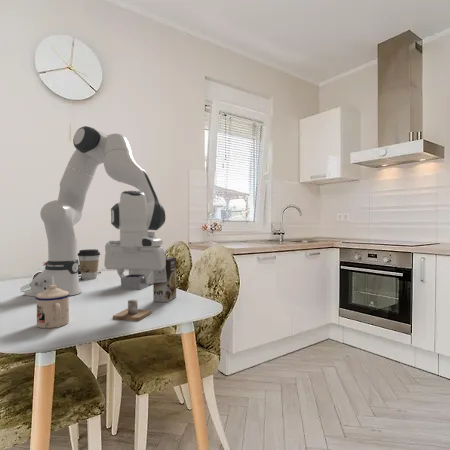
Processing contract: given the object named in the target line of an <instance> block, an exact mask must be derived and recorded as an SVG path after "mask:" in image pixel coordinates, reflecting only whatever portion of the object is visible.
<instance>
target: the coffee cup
mask: <svg viewBox="0 0 450 450" xmlns="http://www.w3.org/2000/svg"><path fill="white" fill-rule="evenodd" d="M100 256H101V252H100V251H99V249H96V248H95V249H88V248H87V249H80V250H79V252H77V257H78V263H79V269H80V277H81V279H82V280H85V281H86V280H87V281H88V280H96V279H97V276H98V269H99V261H100Z"/></svg>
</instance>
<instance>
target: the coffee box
mask: <svg viewBox="0 0 450 450" xmlns="http://www.w3.org/2000/svg"><path fill="white" fill-rule="evenodd" d="M165 259H166V266H165V267H164V269H161V270H153V284H152V285H153V286H152V287H153V290H152V291H153V295H152V296H153V300H152V301H153V302H160V303H169V302H171V301H172V300H174V299H175V298H176V297H177V257H174V256H173V257H172V256H171V257H170V256H169V257H167V256H165ZM173 298H174V299H173ZM170 300H171V301H170Z"/></svg>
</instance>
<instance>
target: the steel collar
mask: <svg viewBox="0 0 450 450" xmlns="http://www.w3.org/2000/svg"><path fill="white" fill-rule="evenodd" d="M146 276H147V274H129V273H128V274H126V275H125V276H123V277H121V278H120V290H121V291H142V290H144V289H146V288H148V287H149V286H150V285H149V284H143V278H146Z"/></svg>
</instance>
